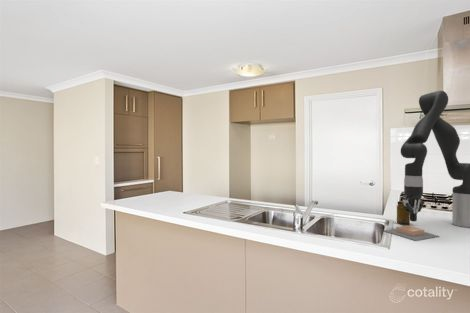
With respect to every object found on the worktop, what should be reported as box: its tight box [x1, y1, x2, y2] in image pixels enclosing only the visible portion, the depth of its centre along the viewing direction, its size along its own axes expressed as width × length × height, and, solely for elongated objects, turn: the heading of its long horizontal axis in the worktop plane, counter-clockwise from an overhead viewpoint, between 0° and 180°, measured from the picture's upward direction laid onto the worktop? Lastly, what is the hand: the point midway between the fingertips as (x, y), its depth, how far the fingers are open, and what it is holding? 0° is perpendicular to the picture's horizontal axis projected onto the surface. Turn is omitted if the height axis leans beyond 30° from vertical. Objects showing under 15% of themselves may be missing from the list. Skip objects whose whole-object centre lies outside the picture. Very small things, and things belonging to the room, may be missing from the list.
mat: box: [382, 228, 440, 242], centre depth 127 cm, size 16×16×1 cm
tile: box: [395, 225, 425, 236], centre depth 127 cm, size 2×8×8 cm
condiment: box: [393, 200, 416, 227], centre depth 145 cm, size 7×8×12 cm
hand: (413, 221), depth 128 cm, fingers closed
